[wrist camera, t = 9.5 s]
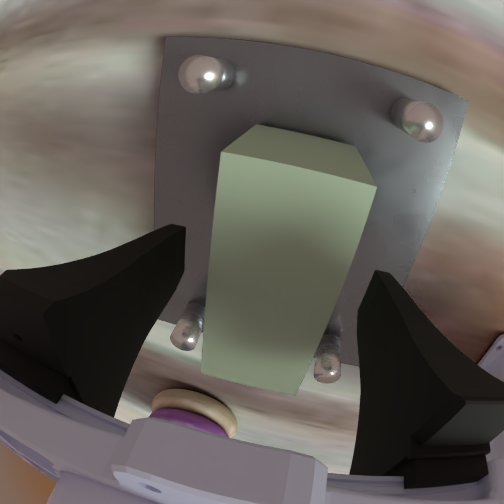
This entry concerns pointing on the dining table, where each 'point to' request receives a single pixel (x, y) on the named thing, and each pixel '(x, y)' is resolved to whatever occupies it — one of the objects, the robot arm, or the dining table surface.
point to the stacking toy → (194, 411)
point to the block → (279, 253)
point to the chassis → (307, 122)
